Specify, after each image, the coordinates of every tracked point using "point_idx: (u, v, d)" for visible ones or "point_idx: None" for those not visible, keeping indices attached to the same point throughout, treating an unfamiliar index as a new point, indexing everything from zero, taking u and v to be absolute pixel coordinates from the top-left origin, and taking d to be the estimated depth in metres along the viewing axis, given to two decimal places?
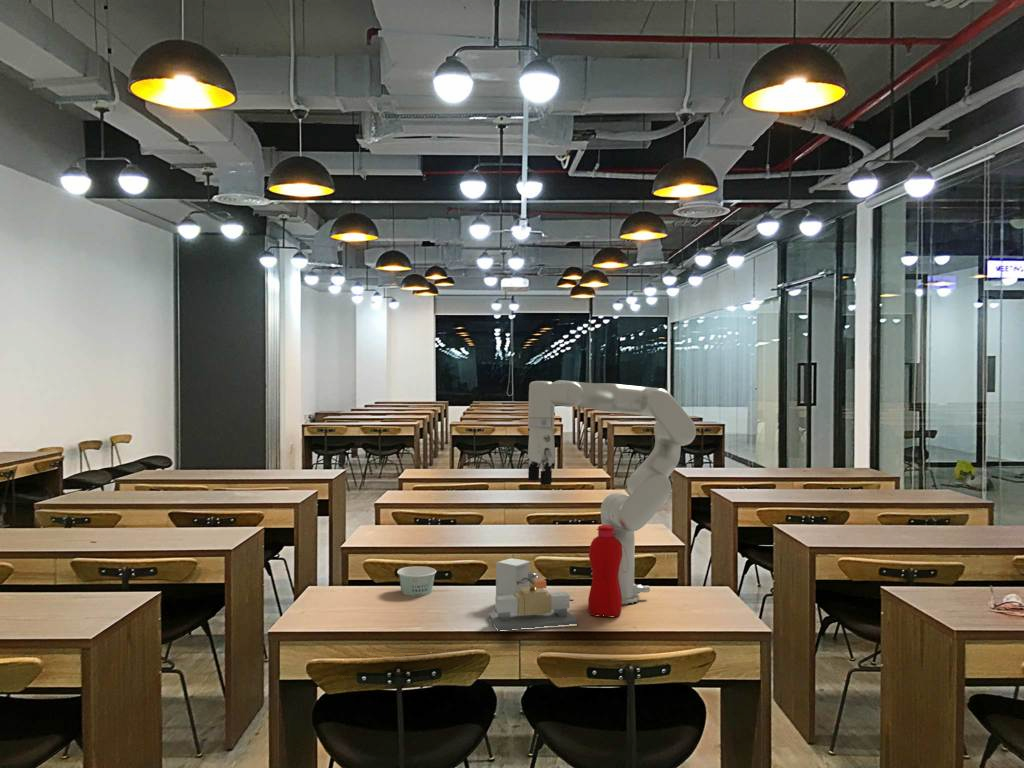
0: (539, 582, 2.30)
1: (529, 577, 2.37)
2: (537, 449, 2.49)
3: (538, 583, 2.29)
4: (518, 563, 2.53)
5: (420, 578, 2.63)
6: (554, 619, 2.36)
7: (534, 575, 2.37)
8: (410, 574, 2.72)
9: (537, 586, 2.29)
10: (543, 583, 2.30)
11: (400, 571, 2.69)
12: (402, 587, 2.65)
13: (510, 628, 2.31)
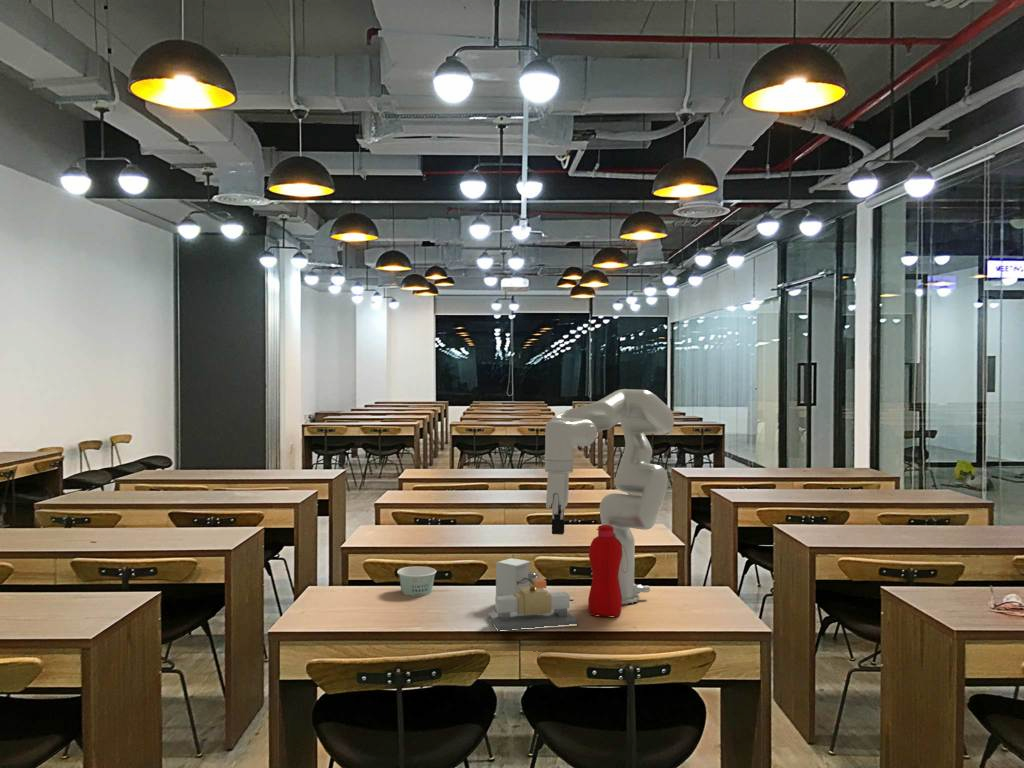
0: (539, 582, 2.30)
1: (529, 577, 2.37)
2: None
3: (538, 583, 2.29)
4: (518, 563, 2.53)
5: (420, 578, 2.63)
6: (554, 619, 2.36)
7: (534, 575, 2.37)
8: (410, 574, 2.72)
9: (537, 586, 2.29)
10: (543, 583, 2.30)
11: (400, 571, 2.69)
12: (402, 587, 2.65)
13: (510, 628, 2.31)
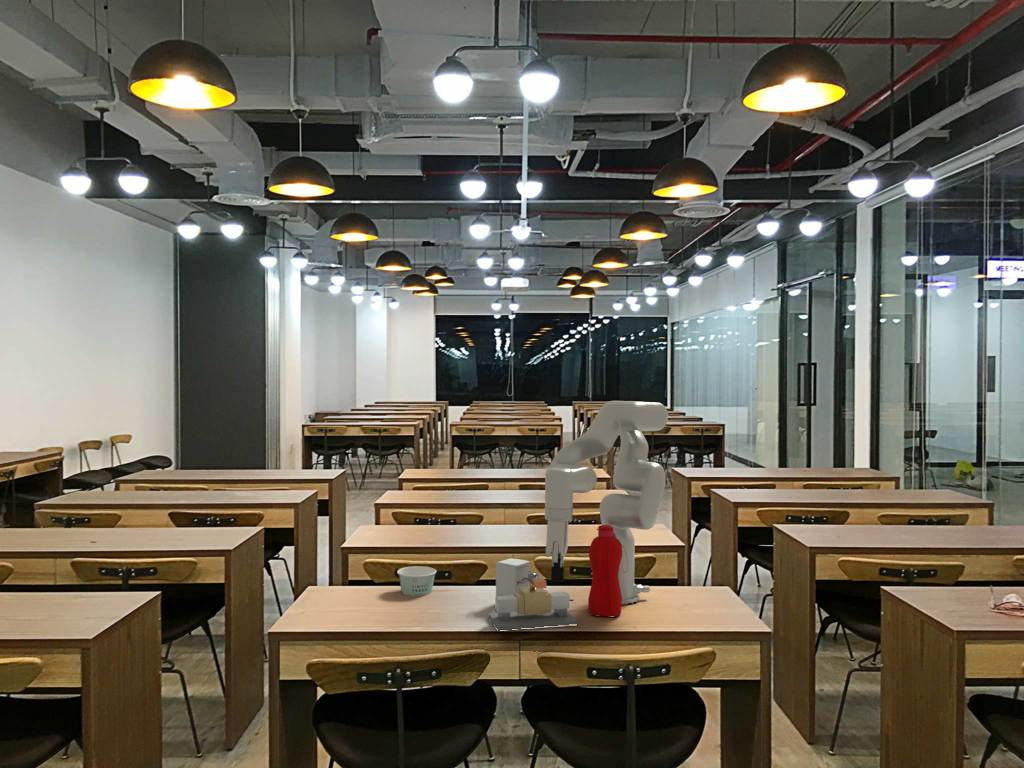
0: (539, 582, 2.30)
1: (529, 577, 2.37)
2: None
3: (538, 583, 2.29)
4: (518, 563, 2.53)
5: (420, 578, 2.63)
6: (554, 619, 2.36)
7: (534, 575, 2.37)
8: (410, 574, 2.72)
9: (537, 586, 2.29)
10: (543, 583, 2.30)
11: (400, 571, 2.69)
12: (402, 587, 2.65)
13: (510, 628, 2.31)
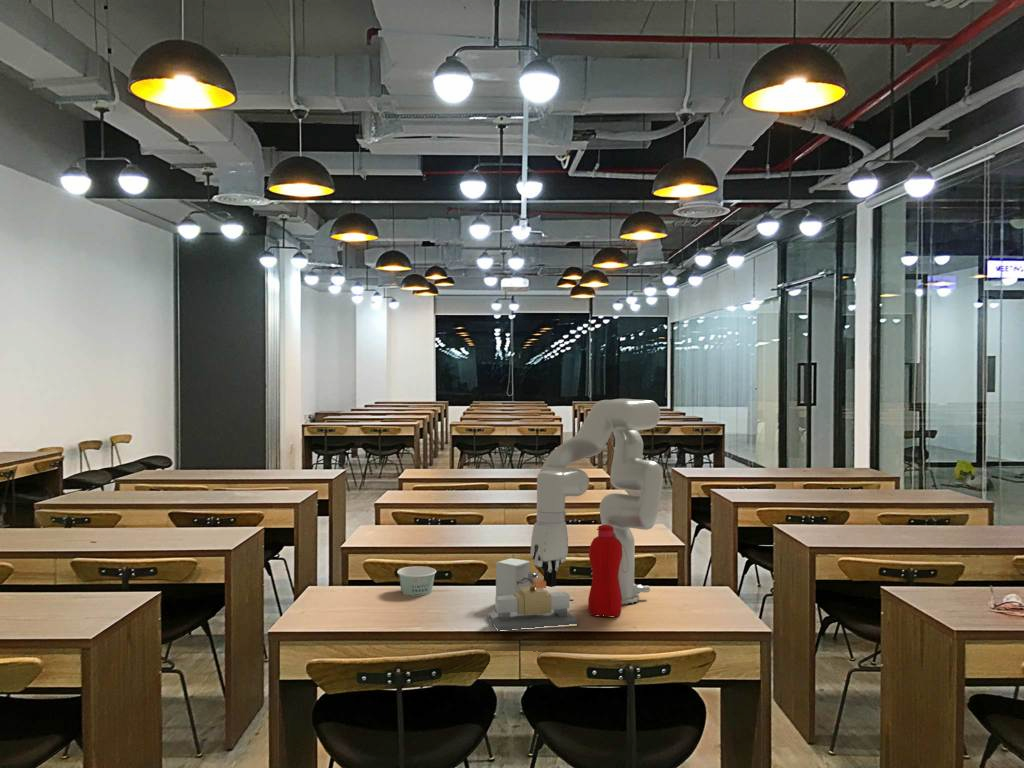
0: (539, 582, 2.30)
1: (529, 577, 2.37)
2: (565, 543, 2.33)
3: (538, 583, 2.29)
4: (518, 563, 2.53)
5: (420, 578, 2.63)
6: (554, 619, 2.36)
7: (534, 575, 2.37)
8: (410, 574, 2.72)
9: (537, 586, 2.29)
10: (543, 583, 2.30)
11: (400, 571, 2.69)
12: (402, 587, 2.65)
13: (510, 628, 2.31)
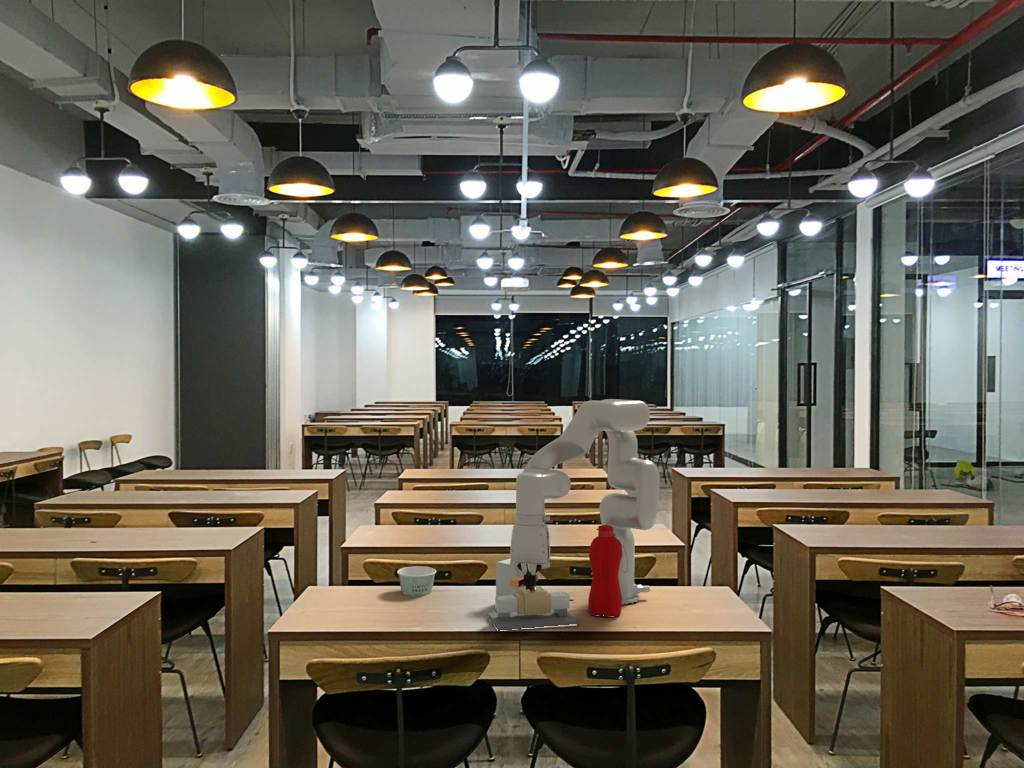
0: (512, 580, 2.31)
1: None
2: (540, 549, 2.28)
3: (511, 581, 2.31)
4: None
5: (420, 578, 2.63)
6: (554, 619, 2.36)
7: None
8: (410, 574, 2.72)
9: (511, 584, 2.32)
10: (515, 582, 2.31)
11: (400, 571, 2.69)
12: (402, 587, 2.65)
13: (510, 628, 2.31)
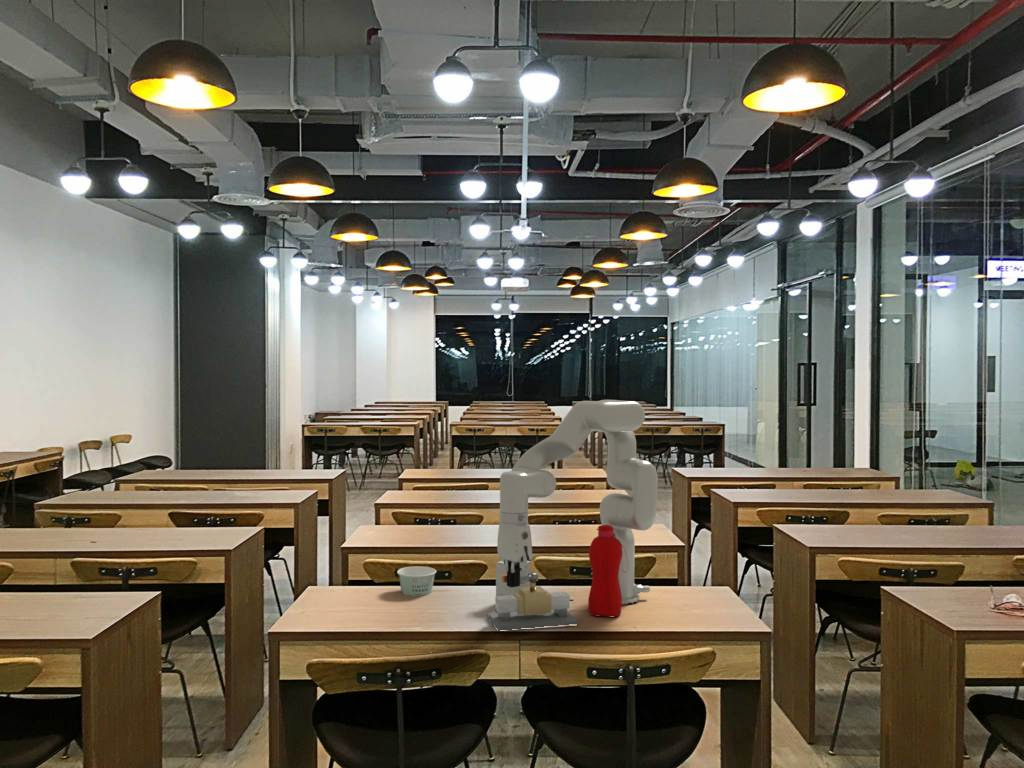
0: (501, 575, 2.37)
1: None
2: (514, 547, 2.29)
3: (501, 575, 2.37)
4: None
5: (420, 578, 2.63)
6: (554, 619, 2.36)
7: (528, 574, 2.38)
8: (410, 574, 2.72)
9: None
10: (502, 577, 2.36)
11: (400, 571, 2.69)
12: (402, 587, 2.65)
13: (510, 628, 2.31)
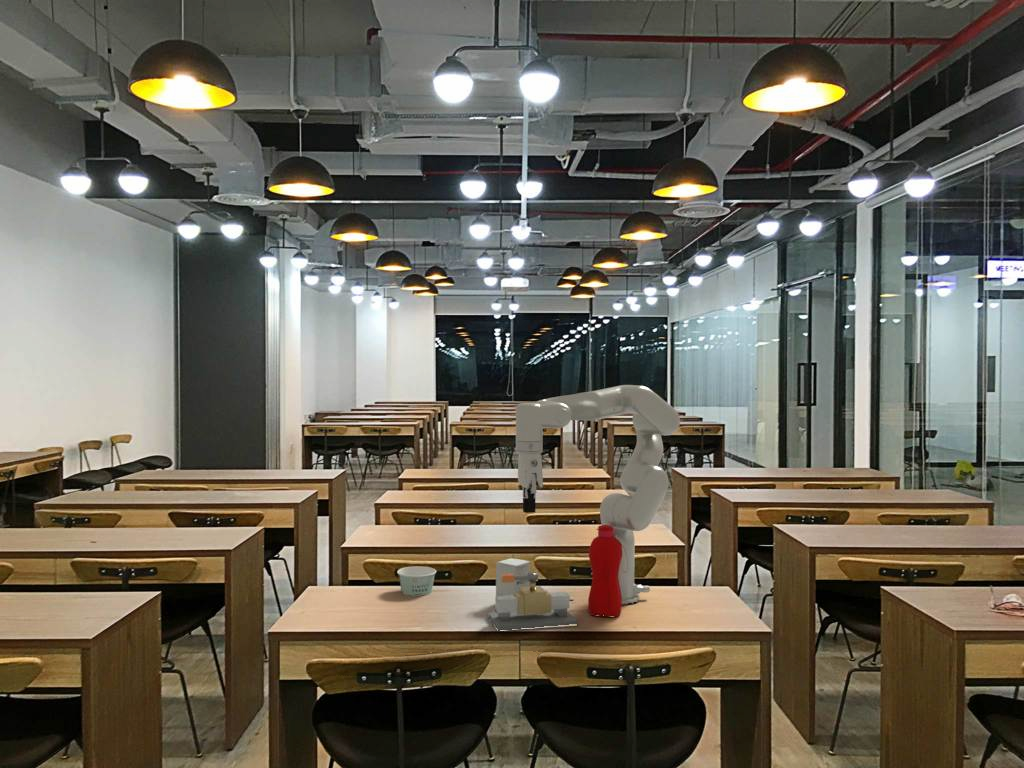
0: (501, 575, 2.37)
1: None
2: (524, 474, 2.41)
3: (501, 575, 2.37)
4: (518, 563, 2.53)
5: (420, 578, 2.63)
6: (554, 619, 2.36)
7: (528, 574, 2.38)
8: (410, 574, 2.72)
9: None
10: (502, 577, 2.36)
11: (400, 571, 2.69)
12: (402, 587, 2.65)
13: (510, 628, 2.31)
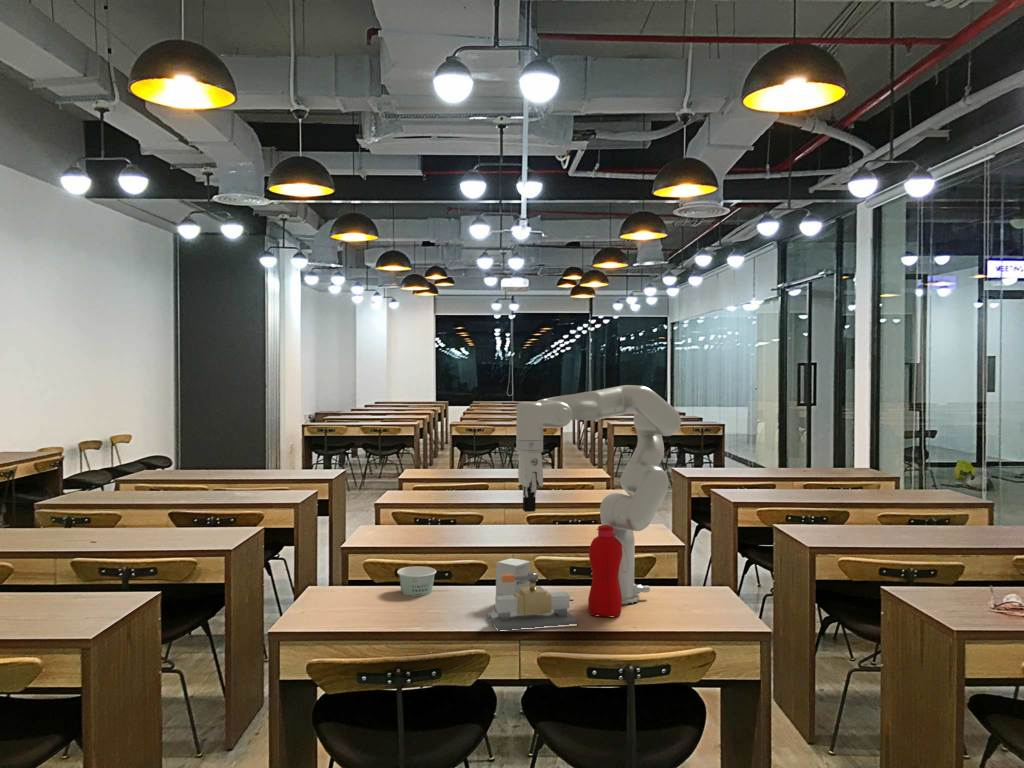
0: (501, 575, 2.37)
1: None
2: (524, 473, 2.41)
3: (501, 575, 2.37)
4: (518, 563, 2.53)
5: (420, 578, 2.63)
6: (554, 619, 2.36)
7: (528, 574, 2.38)
8: (410, 574, 2.72)
9: None
10: (502, 577, 2.36)
11: (400, 571, 2.69)
12: (402, 587, 2.65)
13: (510, 628, 2.31)
